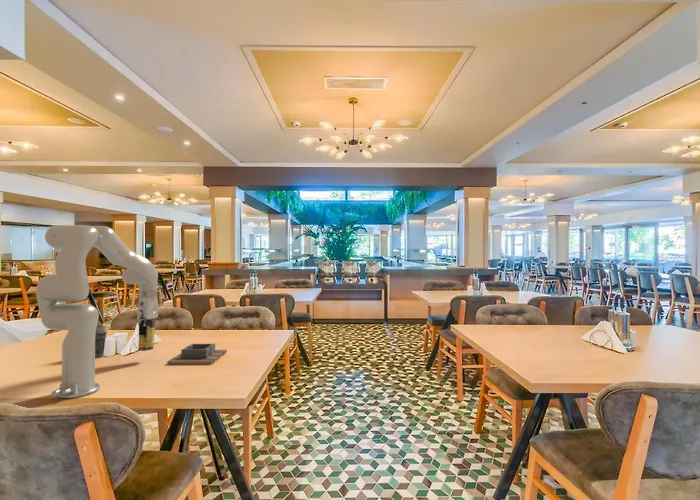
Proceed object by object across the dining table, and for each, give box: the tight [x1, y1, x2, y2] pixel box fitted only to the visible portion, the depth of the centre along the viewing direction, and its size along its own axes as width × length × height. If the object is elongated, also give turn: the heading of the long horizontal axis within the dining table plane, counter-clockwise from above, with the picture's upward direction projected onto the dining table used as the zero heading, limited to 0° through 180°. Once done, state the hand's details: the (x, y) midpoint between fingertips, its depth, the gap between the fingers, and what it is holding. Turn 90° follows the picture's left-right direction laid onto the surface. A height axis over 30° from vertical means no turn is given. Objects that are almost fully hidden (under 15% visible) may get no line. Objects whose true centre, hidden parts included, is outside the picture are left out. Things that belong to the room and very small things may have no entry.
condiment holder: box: [166, 343, 228, 366], centre depth 171 cm, size 20×20×6 cm
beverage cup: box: [95, 324, 108, 359], centre depth 174 cm, size 7×7×20 cm
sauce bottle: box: [138, 318, 156, 352], centre depth 167 cm, size 7×6×20 cm
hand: (146, 333), depth 166 cm, fingers closed on sauce bottle, 6 cm apart
